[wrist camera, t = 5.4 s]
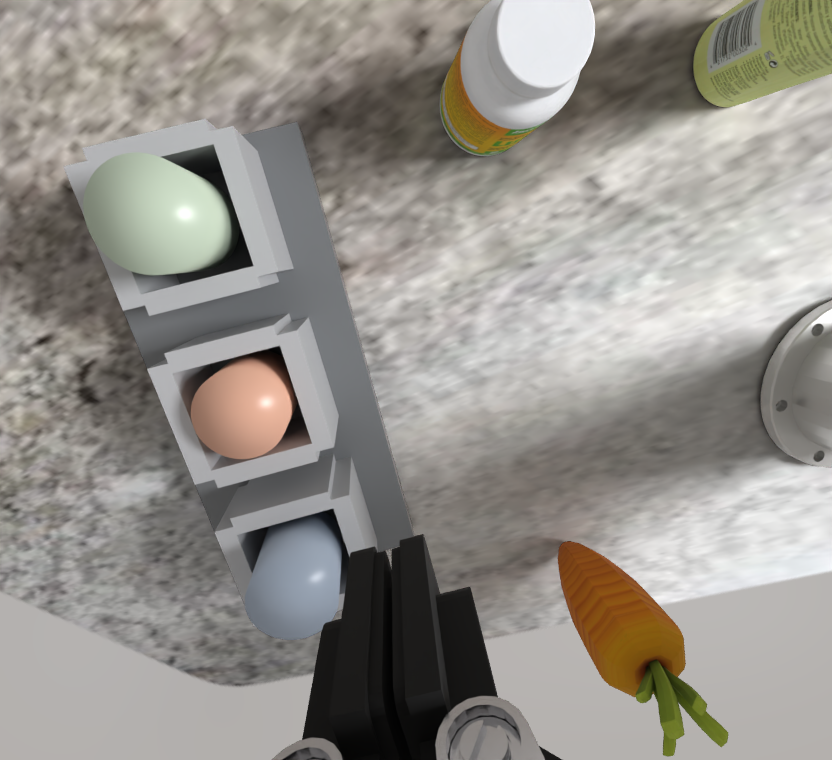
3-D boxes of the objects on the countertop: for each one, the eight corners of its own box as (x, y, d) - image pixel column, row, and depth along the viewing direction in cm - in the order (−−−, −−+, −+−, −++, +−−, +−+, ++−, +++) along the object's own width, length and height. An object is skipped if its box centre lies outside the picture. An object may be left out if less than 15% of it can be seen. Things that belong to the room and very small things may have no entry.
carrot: (607, 548, 36) (770, 744, 22) (552, 585, 36) (678, 801, 22) (576, 502, 35) (728, 676, 20) (519, 540, 35) (629, 738, 21)
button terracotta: (287, 341, 27) (270, 359, 22) (310, 412, 28) (299, 445, 23) (209, 361, 27) (176, 384, 22) (236, 432, 28) (210, 469, 23)
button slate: (330, 498, 27) (323, 550, 22) (351, 562, 28) (349, 625, 24) (254, 519, 27) (231, 576, 22) (279, 583, 28) (262, 650, 23)
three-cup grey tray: (301, 131, 27) (281, 89, 20) (412, 525, 34) (424, 592, 27) (89, 182, 26) (-5, 157, 20) (246, 571, 33) (216, 651, 27)
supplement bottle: (478, 178, 28) (535, 139, 19) (418, 101, 27) (448, 19, 18) (547, 112, 28) (640, 40, 19) (489, 31, 27) (558, -91, 17)
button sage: (221, 164, 22) (181, 139, 18) (252, 259, 24) (223, 259, 19) (127, 187, 22) (62, 168, 17) (163, 281, 23) (112, 287, 19)
